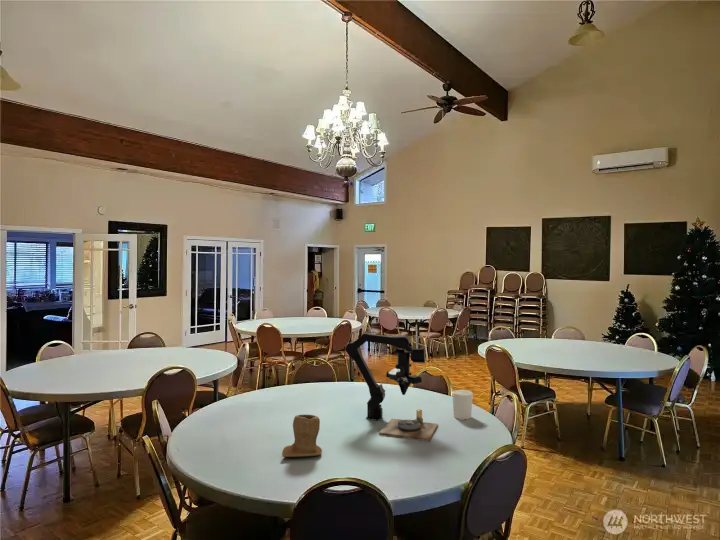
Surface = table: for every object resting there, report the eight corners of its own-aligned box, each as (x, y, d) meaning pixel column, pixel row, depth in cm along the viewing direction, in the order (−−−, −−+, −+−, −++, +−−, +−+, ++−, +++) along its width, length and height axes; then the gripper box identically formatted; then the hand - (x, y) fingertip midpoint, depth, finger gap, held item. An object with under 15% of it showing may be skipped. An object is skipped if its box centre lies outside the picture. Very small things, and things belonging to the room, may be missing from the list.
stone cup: (321, 447, 187) (321, 410, 187) (322, 459, 175) (322, 419, 175) (283, 449, 185) (283, 411, 185) (281, 461, 173) (281, 421, 173)
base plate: (379, 434, 201) (379, 431, 201) (391, 420, 220) (391, 417, 220) (429, 441, 193) (429, 438, 193) (437, 425, 212) (437, 423, 212)
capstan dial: (412, 433, 199) (412, 419, 199) (393, 428, 206) (393, 414, 206) (430, 424, 210) (430, 411, 210) (412, 420, 217) (412, 407, 217)
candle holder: (449, 418, 223) (449, 393, 223) (455, 412, 232) (455, 388, 232) (469, 421, 218) (469, 396, 218) (475, 415, 227) (475, 391, 227)
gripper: (378, 361, 223) (378, 393, 223) (405, 367, 208) (405, 402, 208) (394, 358, 230) (394, 389, 230) (422, 364, 216) (422, 397, 216)
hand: (403, 394), depth 221 cm, fingers closed
